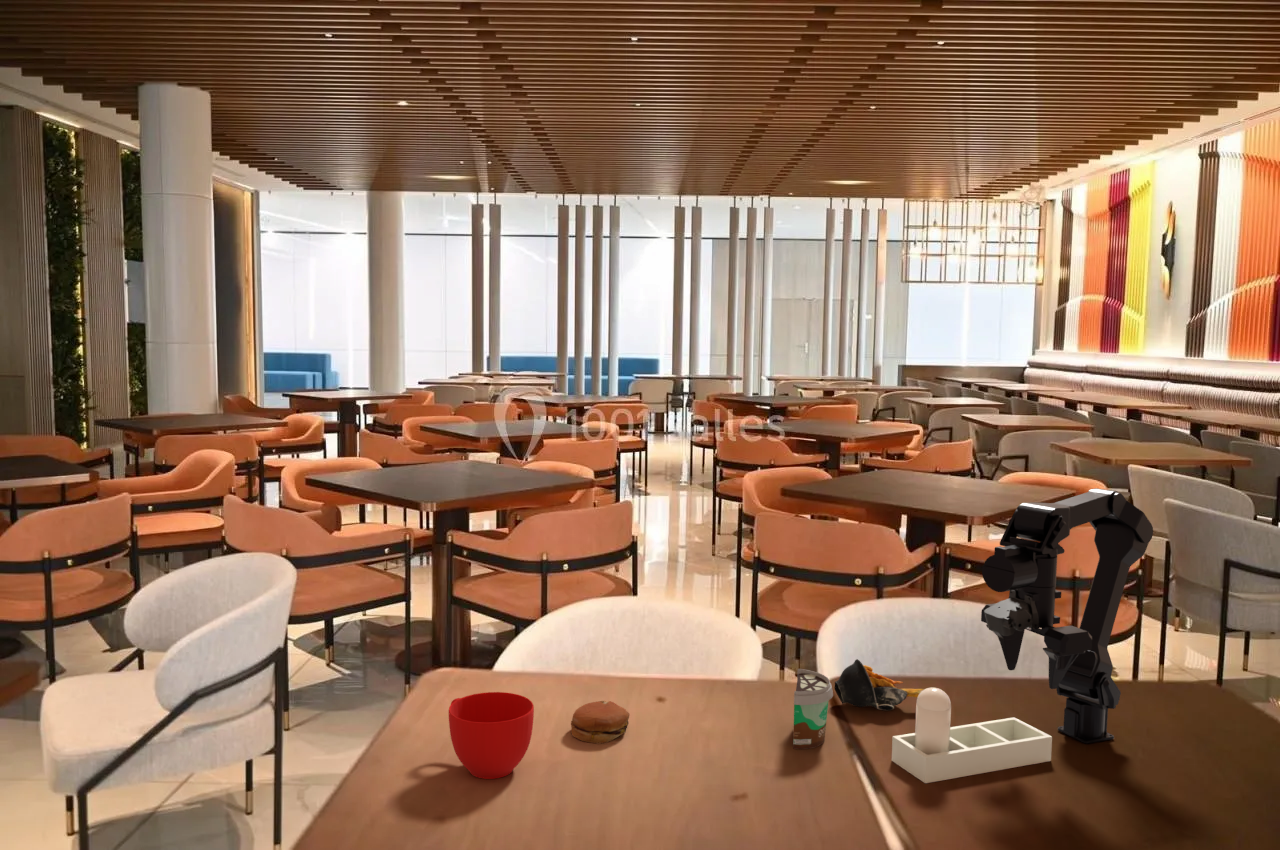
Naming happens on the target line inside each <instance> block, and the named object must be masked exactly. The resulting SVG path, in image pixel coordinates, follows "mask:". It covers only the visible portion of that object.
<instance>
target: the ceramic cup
mask: <svg viewBox="0 0 1280 850" xmlns="http://www.w3.org/2000/svg"><path fill="white" fill-rule="evenodd" d="M534 708H535V706H534V703H533V702H532V700H530V698H528V697H525V696H523V695H520V694H517V693H512V692H504V691H503V692H501V691H491V692H490V691H488V692H480V693H473V694H470V695H466V696H463V697H458V698H454V699H453V700H451V703H450V705H449V707H448V724H449V725H448V726H449V733H450V739H451V744H452V747H453V750H454V752H455V755H456V756H457V759H458V760H459V762H460V763H461V764H462V765H463V766H464V768H465V769H466V770H468V771H469V773H470V774H471V775H472V776H473V777H476V778H479V779H484V780H485V779H486V780H493V779H494V780H495V779H499V778H500V779H501V778H503V777H504V778H505V777H506V776H508V775H510V774H511V773H513V771H514V769H515V768H516V767H517V766H518V765H519V764H520V763H521V761H522V760H523V758H524V757H525V755H526V753H527V751H528V748H529V746H530V744H531V739H532V735H533V727H534V717H535V715H534V713H535V712H534V711H535V709H534Z"/></svg>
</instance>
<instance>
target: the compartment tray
mask: <svg viewBox="0 0 1280 850" xmlns="http://www.w3.org/2000/svg"><path fill="white" fill-rule="evenodd" d="M891 741H892V742H891V743H892V744H891V762H893V763H894V764H895V765H897V766H899V767H900V768H902V769H903V770H904V771H906V772H907V773H910V775H912V776H914V777H915V778H916V779H918V780H919V781H921V782H923V783H924V784H929V783H935V782H940V781H945V780H946V781H947V780H951V779H957V778H962V777H967V776H974V775H980V774H984V773H990V772H997V771H1003V770H1008V769H1012V768H1017V767H1018V768H1019V767H1023V766H1029V765H1036V764H1040V763H1041V764H1042V763H1046V762H1051V761H1052V748H1053V736H1052V735H1050V734H1048V733H1046V732H1044V731H1042V730H1040V729H1039V728H1036V727H1035V726H1032V725H1030V724H1028V723H1026V722H1024V721H1022V720H1021V719H1018V718H1016V717H1007V718H1002V719H1001V718H999V719H996V720H988V721H987V720H986V721H983V722H982V721H981V722H976V723H970V724H962V725H956V726H950V743H949V751H948V752H942V753H936V754H930V755H927V754H925V753H923V752H922V751H920V750H919V749H917V748H915V732H912V733H907V734H906V733H905V734H899V735H898V734H897V735H892V739H891Z"/></svg>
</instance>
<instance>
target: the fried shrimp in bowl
mask: <svg viewBox="0 0 1280 850" xmlns="http://www.w3.org/2000/svg"><path fill="white" fill-rule="evenodd" d="M873 670H874V669H873V668H872V667H871V666H869V665H865V664H863V663H862V661H860V660H859V659H857V658H856V659H855V660H854V662H853V663H852V664H850V665H849V666H847V667H845V668H844V669H843V671H842V672H841V674H840V676H839V678H838V680H836V681H834V690H835V693H836V696H837V697H838V698H839V700H840V702H841V704H842V705H843V704H848V705H849V704H850V705H852V706H854V707H859V708H864V707H865V708H867V707H872V708H875V709H876V710H880V711H892V710H894V709H895V707H896V706H898V705H900V704H901V703H903V702H904V701H905V700H906V699H907V698H908V697H911V698H917V697H918V695H919V694H920V693H921V692H922V691H923V690H924V689H925V688H900V687H897V686H896V684H899V685H900V684H903V683H904V682H903V681H900V680H892V679H890V678H888V677H886V676H883V675H881V674H879V673H875V672H873Z"/></svg>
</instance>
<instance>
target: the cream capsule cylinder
mask: <svg viewBox="0 0 1280 850" xmlns="http://www.w3.org/2000/svg"><path fill="white" fill-rule="evenodd" d="M923 689H924V690H923V691H922V692H921V693H920V694H919V695H918V697H916V701H915V702H916V706H915V725H914V726H915V727H914V731H915V732H914V733H915V748H917V749H919V750H920V751H922V752H923V753H925V754H927V755H930V754H936V753H942V752H948V751H949V743H950V727H951V718H952V717H951V716H952V703H951V699H950V696H949V695H948V694H947V693H946V692H945V691H944V690H942V689H941V688H938V687H934V686H933V687H932V686H931V687H927V688H923Z"/></svg>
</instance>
